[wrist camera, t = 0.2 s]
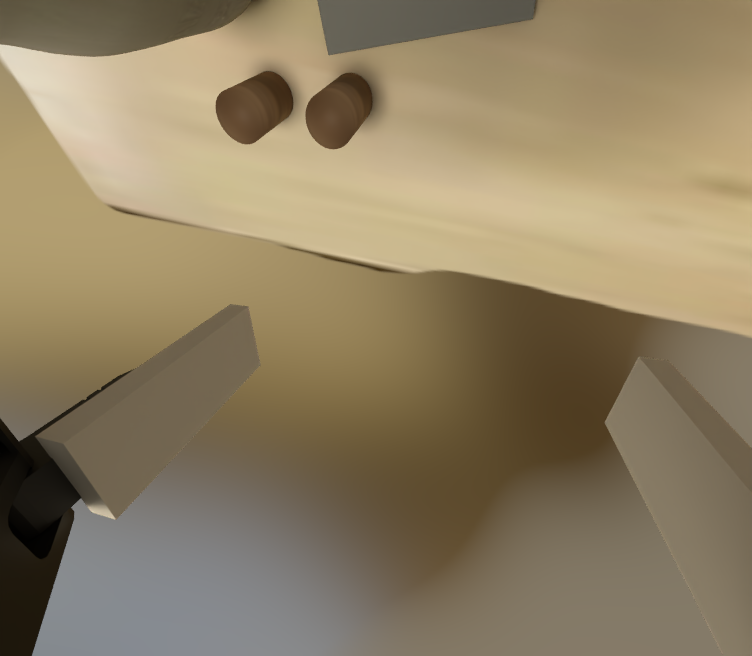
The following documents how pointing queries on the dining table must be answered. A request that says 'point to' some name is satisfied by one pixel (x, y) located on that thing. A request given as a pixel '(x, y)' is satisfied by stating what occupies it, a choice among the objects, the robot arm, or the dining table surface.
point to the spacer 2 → (339, 110)
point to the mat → (411, 19)
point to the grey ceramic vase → (109, 23)
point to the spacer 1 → (254, 107)
